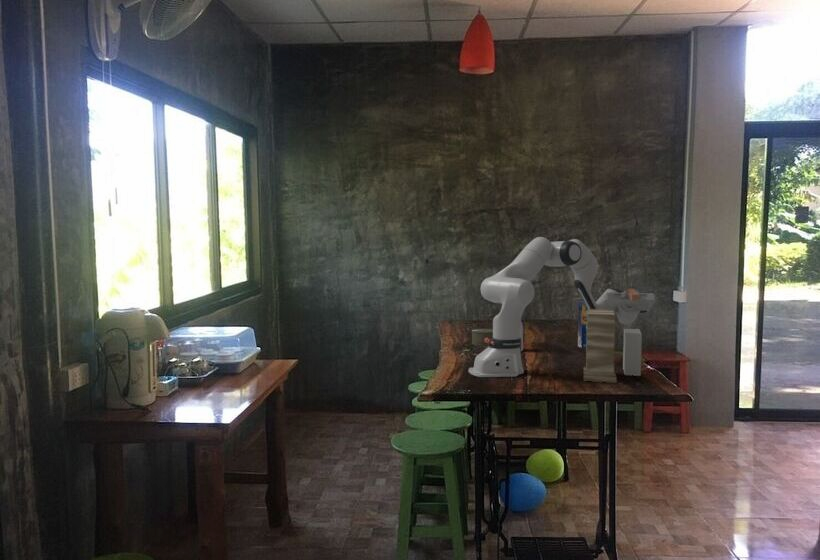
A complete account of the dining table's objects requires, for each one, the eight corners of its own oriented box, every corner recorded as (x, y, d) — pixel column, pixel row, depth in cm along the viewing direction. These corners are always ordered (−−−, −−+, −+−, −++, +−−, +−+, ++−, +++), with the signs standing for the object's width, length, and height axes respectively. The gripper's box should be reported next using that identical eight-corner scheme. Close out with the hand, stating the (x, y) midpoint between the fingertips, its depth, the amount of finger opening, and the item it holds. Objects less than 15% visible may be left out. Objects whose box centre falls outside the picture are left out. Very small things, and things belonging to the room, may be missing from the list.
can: (494, 346, 320) (494, 332, 319) (470, 345, 322) (470, 331, 321) (495, 341, 332) (495, 328, 331) (472, 341, 334) (472, 328, 333)
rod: (638, 301, 248) (638, 294, 247) (632, 300, 248) (632, 294, 248) (633, 294, 272) (633, 288, 271) (627, 294, 272) (627, 288, 272)
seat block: (640, 375, 253) (641, 333, 252) (624, 375, 255) (625, 333, 254) (638, 369, 265) (639, 329, 264) (622, 368, 266) (623, 328, 265)
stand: (616, 383, 242) (617, 315, 239) (583, 381, 245) (584, 314, 243) (613, 372, 259) (615, 309, 257) (583, 371, 262) (584, 308, 260)
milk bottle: (522, 352, 303) (523, 310, 301) (506, 351, 304) (506, 310, 303) (523, 349, 310) (523, 308, 309) (507, 348, 312) (507, 308, 310)
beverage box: (603, 348, 312) (604, 303, 310) (581, 348, 312) (582, 303, 310) (599, 345, 319) (600, 302, 317) (577, 345, 319) (578, 302, 317)
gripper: (604, 297, 284) (605, 284, 272) (652, 298, 279) (656, 285, 267) (604, 310, 282) (605, 298, 270) (653, 312, 276) (656, 299, 264)
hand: (631, 291), depth 268 cm, fingers closed on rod, 2 cm apart
